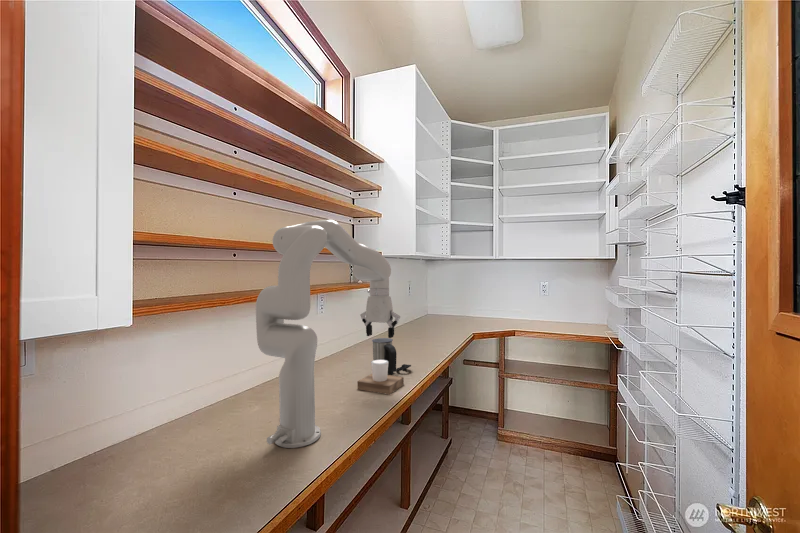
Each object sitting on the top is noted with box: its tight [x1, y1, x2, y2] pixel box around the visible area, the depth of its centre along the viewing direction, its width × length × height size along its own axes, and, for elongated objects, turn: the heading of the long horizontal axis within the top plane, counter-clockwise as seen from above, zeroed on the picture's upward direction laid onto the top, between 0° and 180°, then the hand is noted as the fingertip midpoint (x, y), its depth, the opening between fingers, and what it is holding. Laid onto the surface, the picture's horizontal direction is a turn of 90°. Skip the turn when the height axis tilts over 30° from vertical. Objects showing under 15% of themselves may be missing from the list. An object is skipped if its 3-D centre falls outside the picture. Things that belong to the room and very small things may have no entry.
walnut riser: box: [357, 373, 405, 395], centre depth 143 cm, size 12×14×3 cm
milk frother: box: [371, 337, 412, 375], centre depth 162 cm, size 14×16×15 cm
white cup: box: [370, 359, 388, 382], centre depth 143 cm, size 7×7×7 cm
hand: (380, 336), depth 143 cm, fingers open, 9 cm apart
